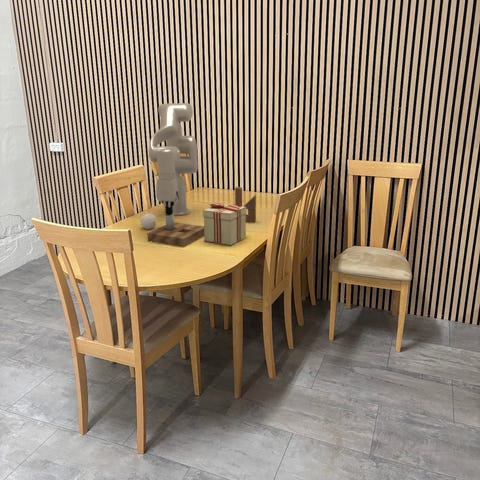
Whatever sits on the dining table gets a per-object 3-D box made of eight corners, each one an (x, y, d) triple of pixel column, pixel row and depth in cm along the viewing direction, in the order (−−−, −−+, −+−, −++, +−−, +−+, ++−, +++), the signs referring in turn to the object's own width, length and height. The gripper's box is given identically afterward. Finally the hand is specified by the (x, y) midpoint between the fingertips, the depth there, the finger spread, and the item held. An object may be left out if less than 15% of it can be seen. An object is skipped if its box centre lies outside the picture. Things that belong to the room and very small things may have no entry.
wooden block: (254, 222, 252) (254, 189, 246) (234, 221, 254) (233, 188, 248) (256, 221, 255) (255, 187, 250) (236, 219, 258) (235, 186, 252)
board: (147, 241, 226) (147, 233, 225) (172, 229, 243) (171, 221, 242) (183, 247, 217) (183, 238, 216) (206, 234, 234) (206, 226, 233)
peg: (165, 237, 231) (163, 215, 227) (169, 235, 234) (168, 213, 231) (171, 238, 229) (170, 216, 226) (176, 236, 233) (174, 214, 229)
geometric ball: (145, 233, 247) (138, 219, 248) (159, 226, 248) (152, 212, 249) (144, 230, 239) (137, 216, 240) (159, 222, 241) (151, 208, 242)
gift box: (249, 234, 233) (249, 199, 228) (233, 246, 217) (233, 209, 212) (218, 230, 240) (217, 196, 234) (200, 242, 224) (198, 205, 218)
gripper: (148, 176, 222) (151, 215, 228) (175, 178, 216) (178, 218, 222) (158, 173, 229) (161, 211, 234) (185, 175, 222) (187, 214, 228)
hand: (169, 214), depth 228 cm, fingers closed
